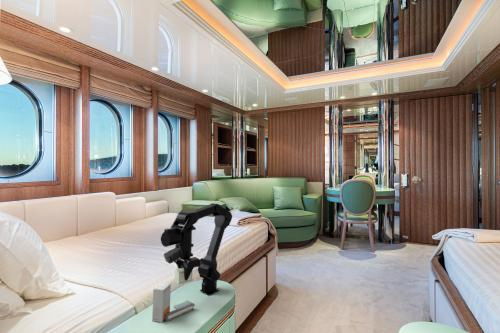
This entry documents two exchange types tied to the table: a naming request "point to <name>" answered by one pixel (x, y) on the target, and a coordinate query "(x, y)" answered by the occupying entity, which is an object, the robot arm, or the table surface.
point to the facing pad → (182, 304)
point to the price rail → (179, 312)
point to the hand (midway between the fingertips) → (183, 278)
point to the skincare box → (161, 301)
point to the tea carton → (181, 276)
